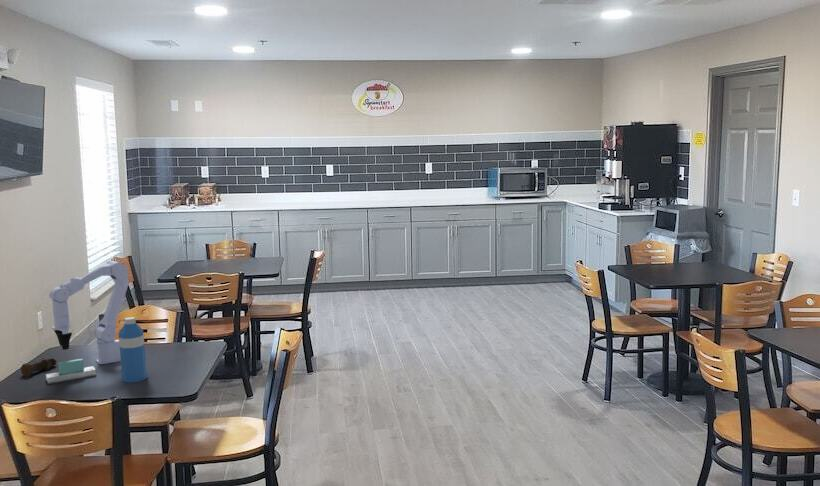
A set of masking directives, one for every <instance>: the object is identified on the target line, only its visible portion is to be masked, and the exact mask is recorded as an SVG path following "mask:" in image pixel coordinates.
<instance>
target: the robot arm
mask: <svg viewBox="0 0 820 486" xmlns="http://www.w3.org/2000/svg"><path fill="white" fill-rule="evenodd" d="M128 272H129V269H128V268H127V266H126V265H125V264H124V263H123V262H121V261H119V262H118V261H115V260H108V261H106V262H104V263H101V264H100V265H99V266H97V267H95V268H94V269H93V270H91V271H89V272H88V273H86V274H84V275H83V276H82V277H71V278H70V279H69V280H68V281H67V282H65V283H61V284H59V286H55V287H54V288H52V289H51V291H50V292H49V293H50V294H49V298H50V299H51V301H52V312H53V313H52V314H53V322H54V326H52V327H51V330H53V331H54V333H55V334H56V335H55V336H56V337H57V340H58V344H59V346H60V347H61V348H62V350H63V351H65V350H69V349H70V348H69V347H70V340H71V337H72V335H73V332H69V329H71V324H70V315H69V306H68V305H69V304H68V300H69V298H70V297H71V296H73V295H75V294H77V293H78V292H80V291H81V290H83V289H84V288H85V286H86V285H87V284H88V283H92V281H94V280H96V279H99V278H101V277H103V276H105V277H108V276H109V277H110V278H111V279H112V281H113V282H114V285H113V289H112V291H111V294H110V298H109V299H108V300H109V301H108V303H107V307H106V310H105V313H104V315H103V318H102V319H100V320H99V323H98V324H97V326H96V327H95V328H94V330H93V335H94V337H95V338H97V340H96V347H97V359H96V362H97V363H98V364H99V365H106V364H111V363H117V362H121V357H120V345H119V339H116V336H117V331H116V329H117V327H118V326H117V319H118V315H119V313H120V310H121V307H122V304H123V301H124V299H125V296H126V293H127V290H128V287H129V284H130V280H129V275H128Z"/></svg>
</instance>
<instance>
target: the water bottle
mask: <svg viewBox="0 0 820 486" xmlns="http://www.w3.org/2000/svg"><path fill="white" fill-rule="evenodd" d="M144 338H145V334H144V329H143V328H141V326H140V325H139V324H138V323H137V322H136V317H133V316H130V317H125V318H124V324H123V325H122V327H121V328H120V331H119V332H118V340H119V345H120V357H121V361H120V366H121V378H122V380H121V381H122V382H124V383H139V382H143V381H145V380H146V379H147V378H148V376H147V375H148V373H147V360H146V348H145V339H144Z"/></svg>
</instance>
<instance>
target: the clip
mask: <svg viewBox="0 0 820 486" xmlns="http://www.w3.org/2000/svg"><path fill="white" fill-rule="evenodd" d="M57 364H58V372H59V374H60V375H64V374H67V373H73V372H81V371H84V368H85V366H84V360H83V358H77V359H71V360H65V361H58V362H57Z"/></svg>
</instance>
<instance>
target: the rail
mask: <svg viewBox="0 0 820 486" xmlns="http://www.w3.org/2000/svg"><path fill="white" fill-rule="evenodd" d="M95 376H97V369H96V368H95V366H94V365H92V366H87V367H85V366H84V371H81V372H73V373H67V374H64V375H60V374H59V371H58V372H52V373H46V374H45V379H46V382H47V385H51V384H57V383H62V382H68V381H73V380H79V379H83V378H84V379H85V378H89V377H95Z"/></svg>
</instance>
